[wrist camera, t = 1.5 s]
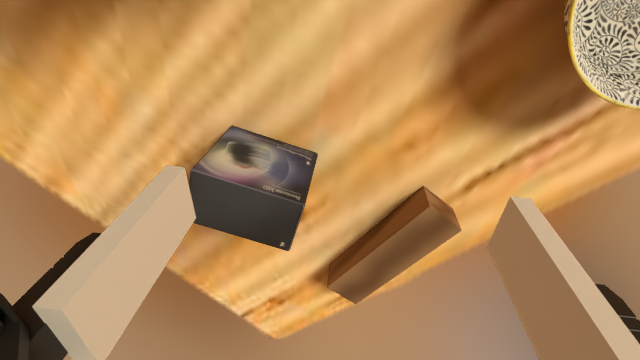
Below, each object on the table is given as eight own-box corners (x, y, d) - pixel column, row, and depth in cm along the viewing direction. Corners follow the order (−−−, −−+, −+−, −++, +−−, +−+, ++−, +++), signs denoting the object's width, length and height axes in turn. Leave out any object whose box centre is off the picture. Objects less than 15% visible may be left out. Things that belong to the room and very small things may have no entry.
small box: (320, 149, 36) (308, 204, 28) (305, 193, 40) (290, 254, 31) (230, 121, 36) (188, 168, 27) (223, 168, 39) (184, 223, 30)
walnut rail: (329, 264, 46) (327, 287, 43) (423, 186, 38) (429, 206, 34) (355, 281, 47) (355, 304, 44) (452, 208, 39) (461, 230, 35)
